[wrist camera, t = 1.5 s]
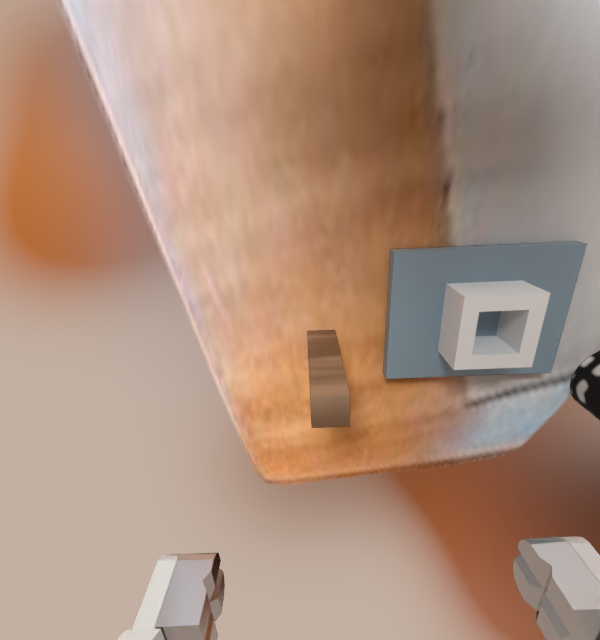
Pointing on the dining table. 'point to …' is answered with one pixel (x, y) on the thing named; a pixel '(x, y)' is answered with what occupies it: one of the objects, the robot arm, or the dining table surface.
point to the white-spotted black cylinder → (588, 384)
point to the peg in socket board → (478, 308)
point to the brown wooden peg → (327, 381)
